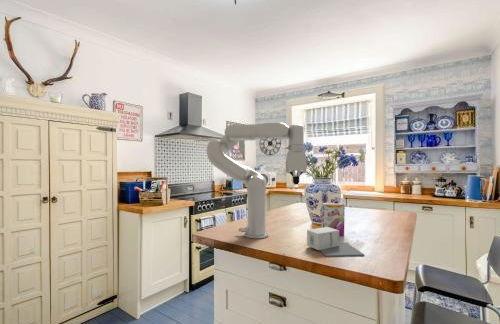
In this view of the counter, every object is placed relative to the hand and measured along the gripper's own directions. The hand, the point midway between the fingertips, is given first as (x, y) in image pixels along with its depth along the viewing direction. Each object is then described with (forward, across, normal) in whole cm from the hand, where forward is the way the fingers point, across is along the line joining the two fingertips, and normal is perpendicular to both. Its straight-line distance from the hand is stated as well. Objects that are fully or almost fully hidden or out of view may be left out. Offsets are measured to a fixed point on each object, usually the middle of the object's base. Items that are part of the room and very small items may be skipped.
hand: (296, 184), depth 133 cm
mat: (+27, +13, -21) cm, 37 cm away
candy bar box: (+27, +21, +4) cm, 35 cm away
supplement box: (+23, +2, -20) cm, 31 cm away
